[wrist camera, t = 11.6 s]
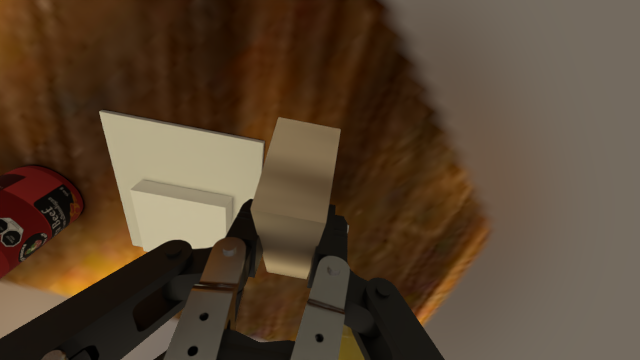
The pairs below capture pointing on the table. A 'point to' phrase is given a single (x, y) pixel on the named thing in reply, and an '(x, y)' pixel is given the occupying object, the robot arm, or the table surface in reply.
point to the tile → (180, 215)
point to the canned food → (33, 212)
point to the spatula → (294, 195)
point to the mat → (180, 160)
